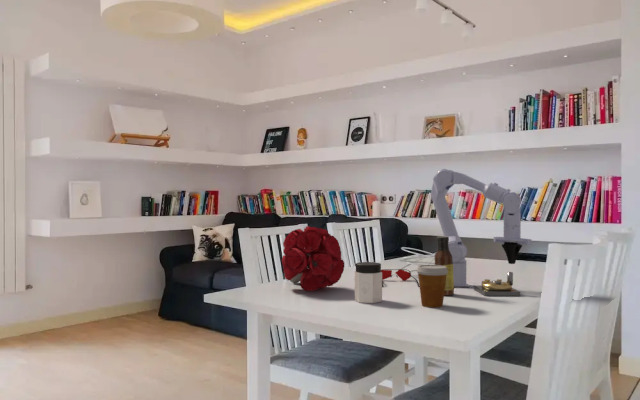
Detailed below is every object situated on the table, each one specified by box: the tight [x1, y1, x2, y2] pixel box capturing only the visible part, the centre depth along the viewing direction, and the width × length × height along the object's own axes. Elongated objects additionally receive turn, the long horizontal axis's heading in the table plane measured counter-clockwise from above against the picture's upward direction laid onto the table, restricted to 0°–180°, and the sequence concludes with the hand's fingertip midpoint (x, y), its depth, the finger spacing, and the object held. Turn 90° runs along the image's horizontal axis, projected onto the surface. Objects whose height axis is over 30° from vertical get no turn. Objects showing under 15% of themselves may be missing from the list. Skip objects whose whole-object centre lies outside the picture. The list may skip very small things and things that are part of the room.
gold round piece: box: [481, 271, 514, 291], centre depth 178 cm, size 10×10×6 cm
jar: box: [354, 261, 383, 304], centre depth 165 cm, size 9×8×12 cm
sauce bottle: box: [434, 235, 455, 297], centre depth 176 cm, size 6×6×20 cm
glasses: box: [381, 268, 420, 288], centre depth 198 cm, size 14×16×5 cm
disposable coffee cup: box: [415, 264, 448, 308], centre depth 158 cm, size 10×10×12 cm
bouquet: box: [281, 225, 345, 292], centre depth 188 cm, size 22×24×30 cm
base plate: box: [473, 285, 521, 297], centre depth 179 cm, size 12×12×2 cm
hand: (511, 263), depth 185 cm, fingers closed
